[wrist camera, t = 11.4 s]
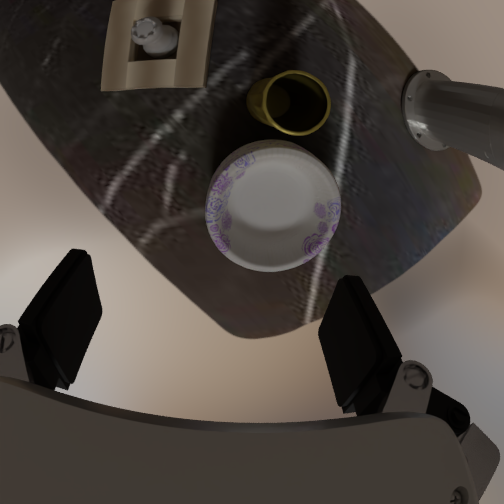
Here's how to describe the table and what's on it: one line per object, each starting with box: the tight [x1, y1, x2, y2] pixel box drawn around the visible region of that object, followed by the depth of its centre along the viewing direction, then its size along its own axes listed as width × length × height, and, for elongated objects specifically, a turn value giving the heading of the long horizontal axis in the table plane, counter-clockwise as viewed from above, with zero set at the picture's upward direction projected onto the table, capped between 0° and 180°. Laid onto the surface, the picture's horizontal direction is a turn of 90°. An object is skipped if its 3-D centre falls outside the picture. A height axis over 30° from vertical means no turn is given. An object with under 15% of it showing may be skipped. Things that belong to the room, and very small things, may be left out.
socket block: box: [101, 0, 217, 91], centre depth 23 cm, size 12×12×4 cm
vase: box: [246, 70, 331, 136], centre depth 24 cm, size 6×6×14 cm
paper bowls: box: [205, 139, 341, 272], centre depth 33 cm, size 15×15×8 cm
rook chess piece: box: [131, 17, 180, 58], centre depth 21 cm, size 4×4×8 cm
